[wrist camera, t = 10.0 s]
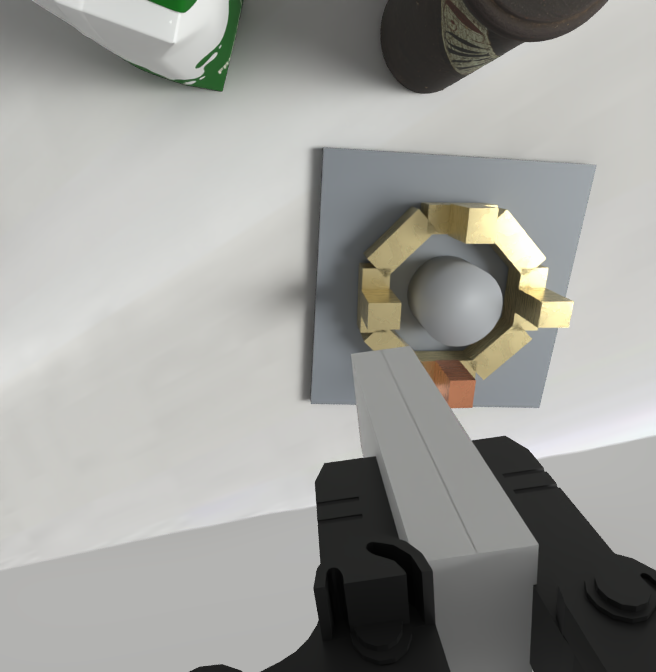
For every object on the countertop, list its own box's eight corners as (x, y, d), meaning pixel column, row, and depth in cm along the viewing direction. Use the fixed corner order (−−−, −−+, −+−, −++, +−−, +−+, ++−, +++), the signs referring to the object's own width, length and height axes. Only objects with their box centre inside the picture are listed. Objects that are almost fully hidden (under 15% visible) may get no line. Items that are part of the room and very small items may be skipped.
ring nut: (359, 200, 41) (372, 207, 34) (545, 202, 42) (592, 208, 35) (353, 375, 46) (363, 410, 40) (517, 372, 47) (553, 405, 41)
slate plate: (310, 399, 48) (312, 430, 43) (323, 147, 40) (328, 145, 34) (534, 403, 50) (565, 433, 45) (589, 164, 42) (635, 165, 37)
